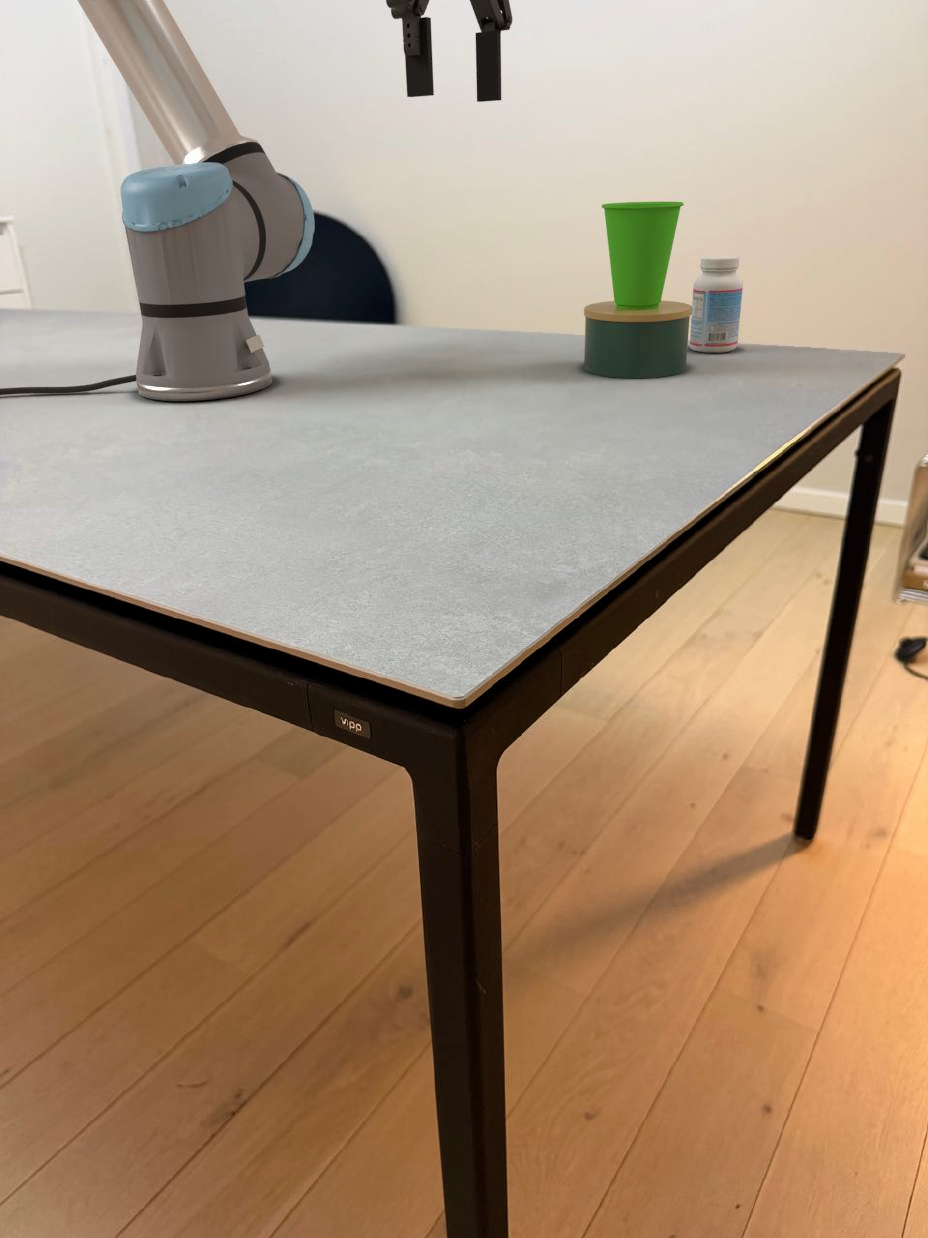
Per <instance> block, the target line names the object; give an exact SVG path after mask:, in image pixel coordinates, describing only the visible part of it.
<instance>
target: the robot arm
mask: <svg viewBox="0 0 928 1238" xmlns="http://www.w3.org/2000/svg"><path fill="white" fill-rule="evenodd" d="M77 2H78V4H79V5H80V7H81V9H82V10H83V13H84V14H85V16H86V18H87V19H88V21H89V23H90V24H91V25H92V28H93V29H94V31H95V32H96V35H97V36H98V37H99V39H100V42H101V43H102V44H103V46H104V48H105V50H106V52H107V53H108V54H109V56H110V58H111V60H112V61H113V63H114V65H115V67H116V69H118V72H119V73H120V75H121V76H122V79H123V80H124V82H125V83H126V85H127V87H128V88H129V90H130V91H131V93H132V96H133V97H134V99H135V100H136V102H137V103H138V105H139V106H140V108H141V110H142V113H143V114H144V115H145V117H146V119H147V121H148V122H149V124H150V125H151V127H152V129H153V130H154V132H155V134H156V136H157V137H158V139H159V140H160V143H161V144H162V146H163V147H164V149H165V152H167V154H168V156H169V158H170V159H171V161H172V163H173V165H168V166H159V167H152V168H148V169H143V170H138V171H136V172H132V173H131V174H129V175H127V176H126V177H125V178H124V179H123V180H122V182H121V184H120V200H121V201H120V202H121V207H122V208H121V209H122V211H121V219H122V224H123V225H124V230H125V235H126V240H127V246H128V251H129V255H130V262H131V267H132V272H133V277H134V283H135V288H136V293H137V297H138V298H137V299H138V302H139V310H140V315H141V321H142V323H141V324H142V325H141V333H140V339H139V340H140V341H139V349H138V355H137V361H136V371H135V374H132V375H131V374H130V375H127V376H122V377H117V378H112V379H106V380H102V381H99V382H95V383H91V384H89V383H88V384H83V385H82V384H81V385H71V386H20V387H4V388H3V387H1V388H0V396H5V395H6V396H7V395H25V394H26V395H28V394H29V395H30V394H74V393H85V392H93V391H97V390H101V389H105V388H109V387H113V386H119V385H123V384H124V385H125V384H129V383H133V382H135V383H136V387H137V392H138V395H140V396H142V397H143V398H147V399H151V400H157V401H169V402H194V401H195V402H196V401H206V400H207V401H208V400H218V399H219V400H220V399H226V398H231V397H238V396H242V395H247V394H251V393H255V392H258V391H260V390H263V389H266V388H267V387H269V386H270V385H271V384H272V383H273V376H272V375H273V374H272V369H271V365H270V361H269V360H268V357H267V355H266V352H265V350H264V348H265V344H264V342H263V340H262V337H261V335H260V334H257V333H256V331H255V328H254V326H253V323H252V321H251V319H250V316H249V311H248V307H247V306H248V305H247V297H246V290H245V283H248V282H252V281H258V280H264V279H265V280H269V279H273V278H277V277H280V276H282V275H283V274H285V273H288V272H290V271H292V270H294V269H295V268H297V267H298V266H299V265H300V264H302V263H303V262H304V260H305V258H306V257H307V255H308V254H309V252H310V250H311V247H312V245H313V239H314V233H315V228H316V227H315V224H316V223H315V214H314V210H313V206H312V203H311V200H310V198H309V196H308V194H307V193H306V191H305V190H304V188H303V187H302V186H301V185H300V184H299V183H298V182H297V181H295V179H293V178H291V177H289V176H288V175H285V174H283V173H281V172H277V171H276V169H275V168H274V166H273V164H272V162H271V161H270V159H269V156H268V155H267V153H266V152H265V150H264V148H263V146H262V145H261V144H260V142H259V141H258V140H257V139H253V138H250V137H246V136H243V135H242V134H241V133H240V132H239V130H238V129H237V126H236V125H235V123H234V121H233V119H232V117H231V115H230V114H229V112H228V111H227V109H226V108H225V105H224V103H223V101H222V99H220V97H219V95H218V93H217V92H216V90H215V88H214V87H213V85H212V83H211V81H210V80H209V78H208V76H207V75H206V73H205V70H204V69H203V67H202V66H201V64H200V62H199V60H198V59H197V57H196V55H195V53H194V52H193V50H192V48H191V46H190V44H189V43H188V41H187V40H186V37H185V36H184V34H183V32H182V31H181V29H180V27H179V25H178V23H177V22H176V20H175V18H174V16H173V15H172V13H171V12H170V10H169V8H168V6H167V4H166V3H165V1H164V0H77ZM469 2H470V6H471V8H472V11H473V13H474V16H475V19H476V21H477V24H478V27H479V32H475V70H476V71H475V72H476V73H475V75H476V102H479V103H484V102H495V101H498V102H499V101H502V36H501V35H502V34H501V33H502V32H503V31H504V32H505V31H509V30H510V29H511V25H512V23H513V13H512V8H511V4H510V3H511V2H510V0H469ZM385 3H386V7H388V8H389V9H390V13H391V14H390V15H391V17H392V19H394V20H400V19H401V23H402V41H403V45H402V46H403V52H404V62H405V80H406V81H405V83H406V97H407V98H418V97H429V96H430V97H431V96H434V95H435V94H434V93H435V91H434V88H435V87H434V64H433V63H434V62H433V41H432V18H431V17H430V16H424V15H425V13H426V11H427V8H428V5H429V3H430V0H385ZM423 16H424V17H423Z"/></svg>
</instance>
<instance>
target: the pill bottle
mask: <svg viewBox="0 0 928 1238" xmlns="http://www.w3.org/2000/svg"><path fill="white" fill-rule="evenodd" d="M699 267H700V271H701V275H699V276H698V277H696V279H695V280H694V282H693V286H692V287H693V289H692V302H691V303H692V304H691V306H692V314H691V315H690V316H691V317H690V318H691V319H690V331H689V332H690V336H689V348H690V350H692V351H694V352H698V353H708V354H709V353H710V354H714V353H716V354H719V353H729V352H731V351H734V350H736V349H737V348H738V343H739V335H740V334H739V333H740V321H741V320H740V319H741V309H742V298H743V288H744V287H743V286H744V282H743V280H742V278H741V277H740V276H739V275H737V270H739V267H740V256H738V255H730V254H719V255H716V254H715V255H706V256H705V255H704V256H701V258H700V265H699Z"/></svg>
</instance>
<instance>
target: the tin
mask: <svg viewBox="0 0 928 1238" xmlns="http://www.w3.org/2000/svg"><path fill="white" fill-rule="evenodd" d="M691 315H692V304H688V303H685V302H680V301H674V300H662V299H661V302H660V303H659V305H658V308H654V309H647V310H626V309H619V308H617V307H616V304H615V302H614V300H609V301H600V302H594V303H591V304H587V305H585V306H584V307H583V316H584V317H585V321H584V323H585V324H584V329H585V330H584V355H583V356H584V358H583V359H584V360H583V368H584V370H585V371H586V372H587V373H590V374H593V375H596V376H601V377H608V378H615V379H617V378H618V379H653V378H655V379H656V378H662V377H670V376H674V375H678V374H681V373H683V372H685V371H686V369H687V368H686V367H687V359H688V358H687V357H688V344H689V332H690V331H689V330H690V329H689V328H690V318H691V317H690V316H691Z"/></svg>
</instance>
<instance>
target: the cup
mask: <svg viewBox="0 0 928 1238" xmlns="http://www.w3.org/2000/svg"><path fill="white" fill-rule="evenodd" d="M684 205H685V203H684V202H683V201H627V202H614V203H613V202H611V203H609V202H608V203H603V204H602V205H601V208H602V209H603V210H604V218H605V227H606V237H607V246H608V255H609V264H610V274H611V282H612V291H613V292H612V293H613V301H614V302H615V304H616V307H617V308H619V309H626V310H647V309H654V308H658V305H659V303H660V302H661V300H662V297H663V292H664V287H665V282H666V278H667V273H668V269H669V264H670V259H671V254H672V250H673V246H674V241H675V237H676V231H677V226H678V221H679V216H680V210H681V207H683V206H684Z"/></svg>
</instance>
